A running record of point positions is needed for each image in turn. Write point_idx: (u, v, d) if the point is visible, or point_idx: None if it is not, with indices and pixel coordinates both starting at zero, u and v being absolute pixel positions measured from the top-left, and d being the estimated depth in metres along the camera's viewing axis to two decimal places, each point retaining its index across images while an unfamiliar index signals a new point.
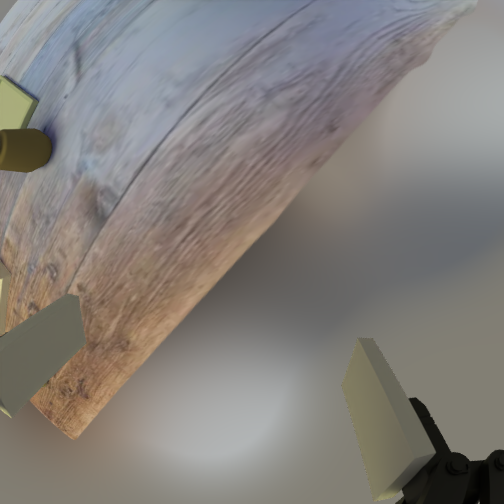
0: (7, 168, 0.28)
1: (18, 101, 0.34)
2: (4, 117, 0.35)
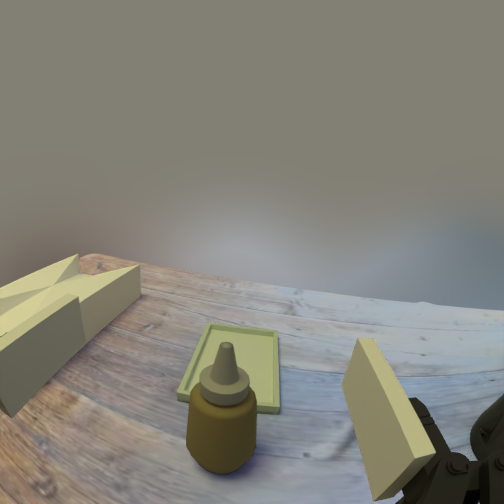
0: (194, 422, 0.22)
1: (263, 379, 0.42)
2: None
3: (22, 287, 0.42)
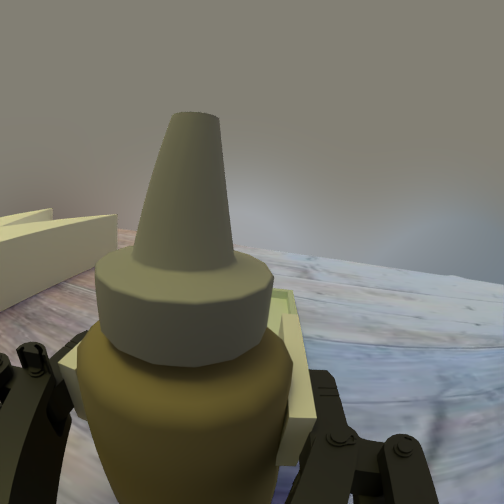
0: (90, 424, 0.06)
1: None
2: None
3: None
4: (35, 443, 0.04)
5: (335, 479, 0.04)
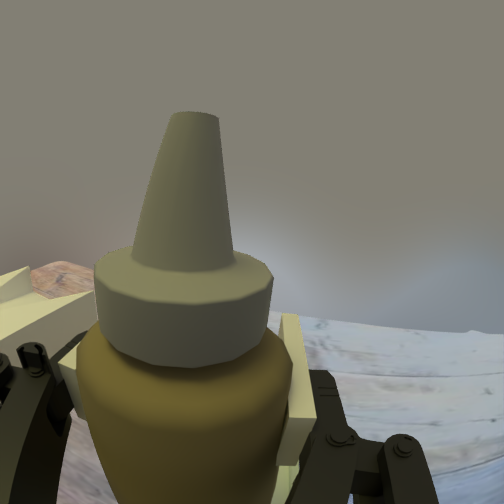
0: (90, 424, 0.06)
1: None
2: None
3: None
4: (35, 443, 0.04)
5: (335, 479, 0.04)
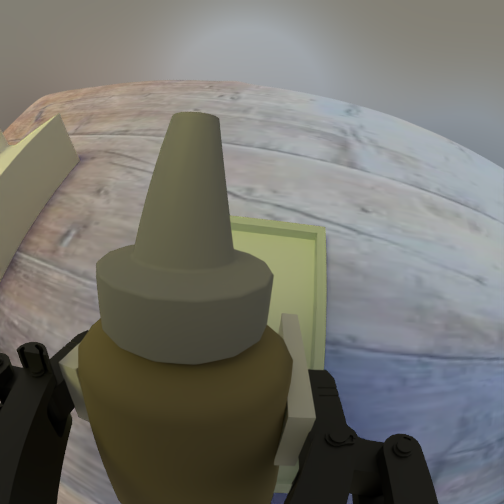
0: (92, 422, 0.06)
1: None
2: None
3: None
4: (35, 443, 0.04)
5: (334, 479, 0.04)
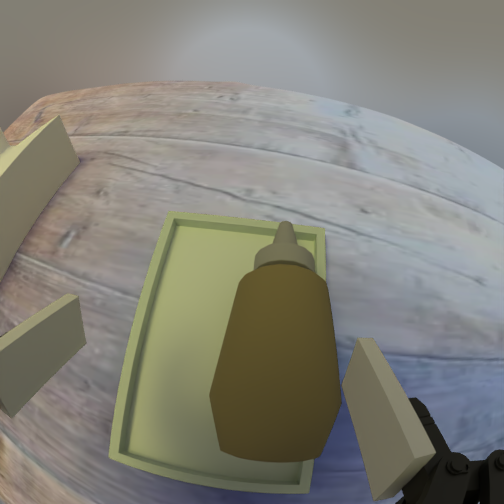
0: (300, 293, 0.16)
1: None
2: None
3: None
4: None
5: None
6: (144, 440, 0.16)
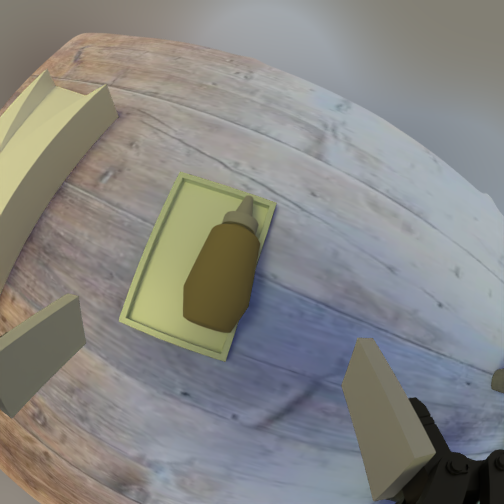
0: (238, 243, 0.31)
1: None
2: None
3: None
4: None
5: None
6: (141, 311, 0.34)
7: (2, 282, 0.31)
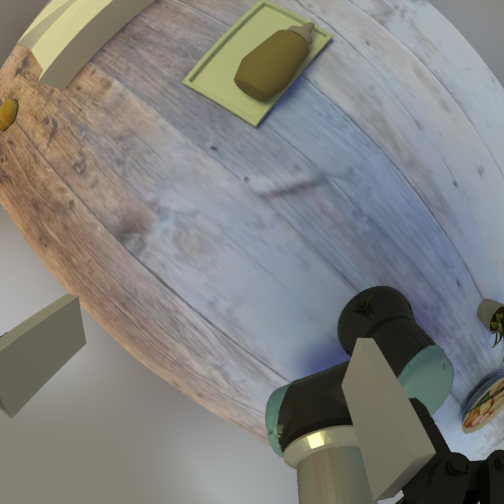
0: (291, 41, 0.31)
1: None
2: None
3: None
4: None
5: None
6: (202, 79, 0.39)
7: (85, 61, 0.38)
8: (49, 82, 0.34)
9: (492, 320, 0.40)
